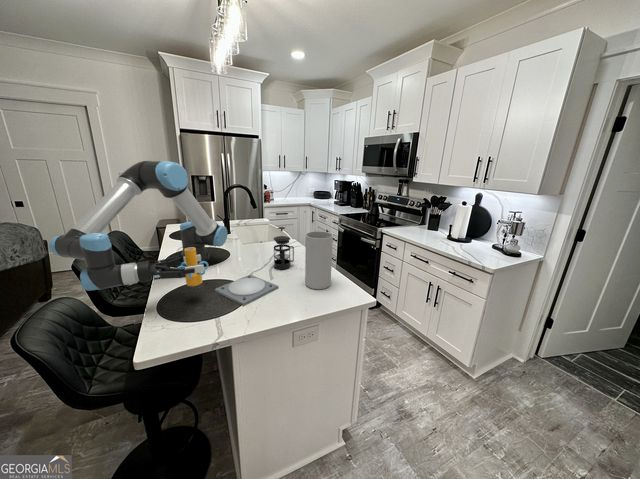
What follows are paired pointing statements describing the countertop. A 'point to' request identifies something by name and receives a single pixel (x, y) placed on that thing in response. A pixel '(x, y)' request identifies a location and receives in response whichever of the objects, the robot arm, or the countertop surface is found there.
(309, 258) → the cylinder vase
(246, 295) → the grey plate with disc
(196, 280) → the orange ringed tube
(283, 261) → the french press
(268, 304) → the countertop surface
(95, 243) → the robot arm
